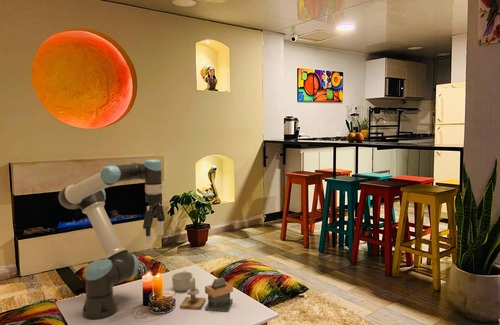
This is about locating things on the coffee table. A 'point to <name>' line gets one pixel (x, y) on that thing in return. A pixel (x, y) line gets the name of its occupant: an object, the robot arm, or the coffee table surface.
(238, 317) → the coffee table surface
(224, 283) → the grey stepped block
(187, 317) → the coffee table surface
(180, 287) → the teacup
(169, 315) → the coffee table surface
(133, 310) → the coffee table surface
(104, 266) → the robot arm
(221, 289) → the brown wooden block
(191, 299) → the stand
